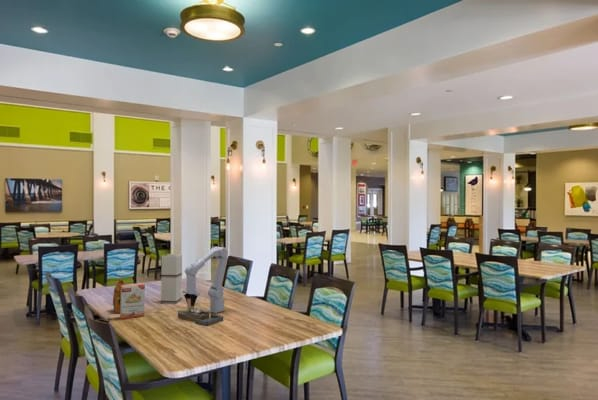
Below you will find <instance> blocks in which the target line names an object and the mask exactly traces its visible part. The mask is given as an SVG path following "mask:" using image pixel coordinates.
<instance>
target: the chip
mask: <svg viewBox="0 0 598 400" xmlns="http://www.w3.org/2000/svg"><path fill="white" fill-rule="evenodd" d="M202 310H203V309H202V308H198V309H197V310H194V311H193V313H196V314H201V313H202Z"/></svg>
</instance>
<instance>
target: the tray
mask: <svg viewBox="0 0 598 400" xmlns="http://www.w3.org/2000/svg"><path fill="white" fill-rule="evenodd" d="M222 321H223V322H224V316H221V315H218V314H215V313H213V314H212V313H211V314H210V316H209V318H207V319H204V320H200V319H195V322H194V323H195V324H197V325H202V326H206V327H208V326H211V325H214V324H217V323H219V322H222Z"/></svg>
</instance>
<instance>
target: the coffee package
mask: <svg viewBox="0 0 598 400" xmlns="http://www.w3.org/2000/svg"><path fill="white" fill-rule="evenodd" d="M117 281H118V282H117V284H115V287H114V289H113V297H112V306H113V310H114V312H115V313H117V314H120V305H121V285H126V284H125V282H124V278H122V277H119V278H117Z"/></svg>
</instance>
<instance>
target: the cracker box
mask: <svg viewBox="0 0 598 400" xmlns="http://www.w3.org/2000/svg"><path fill="white" fill-rule="evenodd" d="M145 288H146V286H145V284H144V283H134V284H133V283H132V284H125V285H121V305H120V313H119V316H120V319H121V320H123V319H133V318H141V317H145V296H146V295H145Z"/></svg>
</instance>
